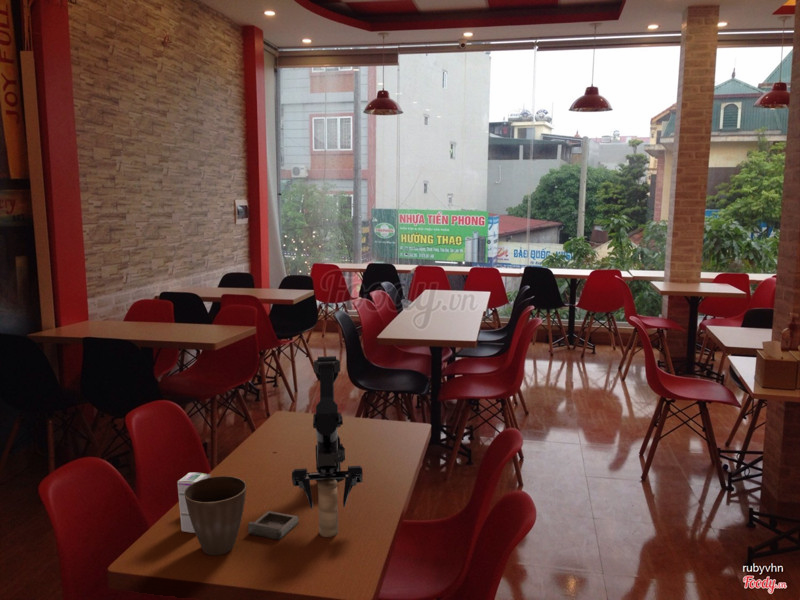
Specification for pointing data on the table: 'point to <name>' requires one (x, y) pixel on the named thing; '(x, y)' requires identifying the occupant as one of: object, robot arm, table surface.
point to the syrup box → (184, 514)
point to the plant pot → (216, 511)
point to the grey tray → (273, 525)
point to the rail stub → (328, 507)
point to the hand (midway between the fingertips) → (327, 507)
